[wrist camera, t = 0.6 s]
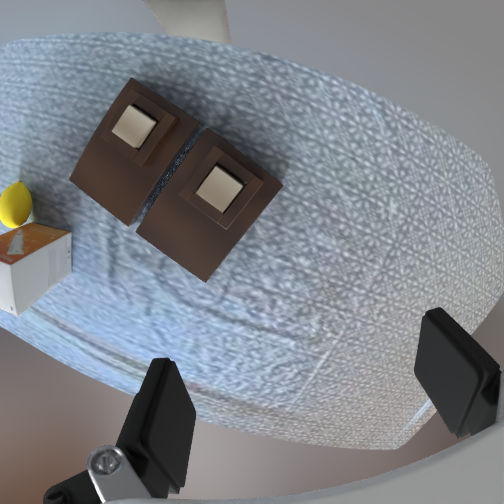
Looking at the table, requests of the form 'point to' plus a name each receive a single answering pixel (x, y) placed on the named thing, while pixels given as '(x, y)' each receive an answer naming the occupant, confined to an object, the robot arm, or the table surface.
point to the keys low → (133, 153)
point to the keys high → (206, 207)
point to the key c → (134, 126)
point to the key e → (219, 188)
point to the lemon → (15, 205)
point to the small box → (32, 264)
